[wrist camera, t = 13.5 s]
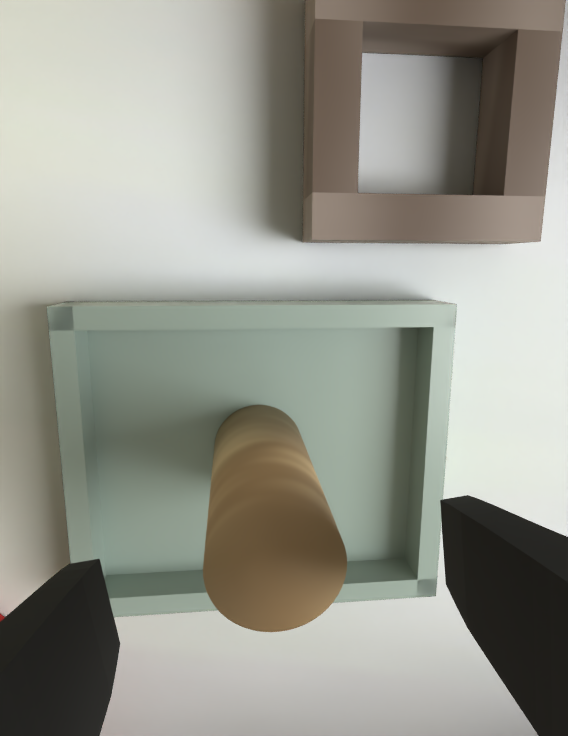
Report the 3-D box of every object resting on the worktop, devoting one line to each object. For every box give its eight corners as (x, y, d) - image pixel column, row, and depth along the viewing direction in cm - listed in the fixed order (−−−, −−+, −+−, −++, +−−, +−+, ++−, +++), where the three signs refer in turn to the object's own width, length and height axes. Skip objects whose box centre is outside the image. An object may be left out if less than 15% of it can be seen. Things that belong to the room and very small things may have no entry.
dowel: (300, 401, 17) (345, 495, 10) (303, 483, 18) (348, 623, 11) (211, 408, 17) (197, 508, 10) (217, 491, 17) (208, 639, 11)
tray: (434, 300, 17) (457, 304, 16) (417, 566, 19) (435, 596, 18) (66, 301, 16) (46, 306, 14) (90, 585, 18) (75, 619, 16)
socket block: (526, 13, 16) (567, -22, 14) (505, 243, 17) (540, 241, 15) (304, 1, 15) (315, -38, 13) (302, 242, 16) (312, 239, 14)
